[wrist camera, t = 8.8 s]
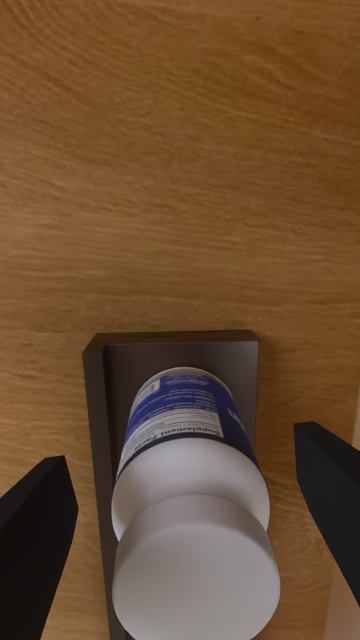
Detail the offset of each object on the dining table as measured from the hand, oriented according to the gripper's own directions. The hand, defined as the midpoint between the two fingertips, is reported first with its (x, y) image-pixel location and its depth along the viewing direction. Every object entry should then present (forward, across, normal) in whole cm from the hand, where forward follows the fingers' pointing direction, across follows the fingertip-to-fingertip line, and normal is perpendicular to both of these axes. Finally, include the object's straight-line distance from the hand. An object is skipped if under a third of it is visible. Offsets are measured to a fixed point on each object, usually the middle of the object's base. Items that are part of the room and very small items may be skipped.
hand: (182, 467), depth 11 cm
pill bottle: (+8, 0, +3) cm, 9 cm away
